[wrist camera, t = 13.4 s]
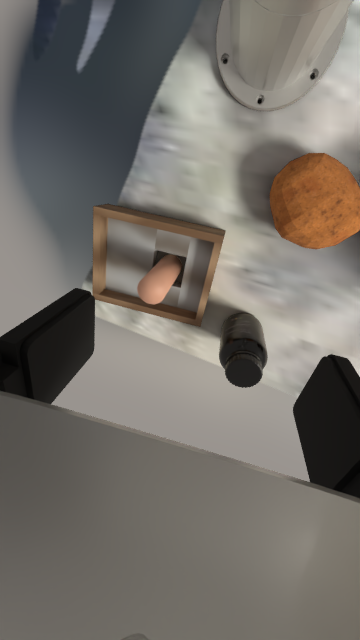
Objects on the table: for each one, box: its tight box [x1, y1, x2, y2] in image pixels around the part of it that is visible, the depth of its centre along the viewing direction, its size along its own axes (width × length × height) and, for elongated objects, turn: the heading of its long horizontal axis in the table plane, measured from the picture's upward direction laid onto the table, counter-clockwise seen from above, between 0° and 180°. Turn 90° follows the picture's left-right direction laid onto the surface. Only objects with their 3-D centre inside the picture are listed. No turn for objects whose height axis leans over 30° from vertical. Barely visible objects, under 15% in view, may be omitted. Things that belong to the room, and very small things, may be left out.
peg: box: [137, 255, 182, 304], centre depth 36 cm, size 4×4×11 cm
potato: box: [270, 153, 360, 249], centre depth 30 cm, size 9×11×8 cm
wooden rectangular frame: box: [93, 204, 225, 327], centre depth 39 cm, size 14×18×4 cm
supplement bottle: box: [219, 313, 268, 388], centre depth 38 cm, size 7×7×12 cm
